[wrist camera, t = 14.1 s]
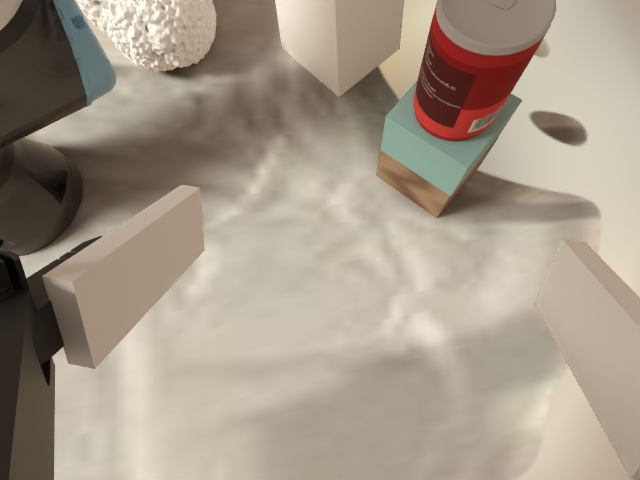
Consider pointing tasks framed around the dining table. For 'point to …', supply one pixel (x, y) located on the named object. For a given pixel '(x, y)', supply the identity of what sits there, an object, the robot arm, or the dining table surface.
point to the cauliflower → (156, 29)
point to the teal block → (438, 144)
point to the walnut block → (417, 184)
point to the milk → (340, 37)
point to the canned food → (475, 62)
